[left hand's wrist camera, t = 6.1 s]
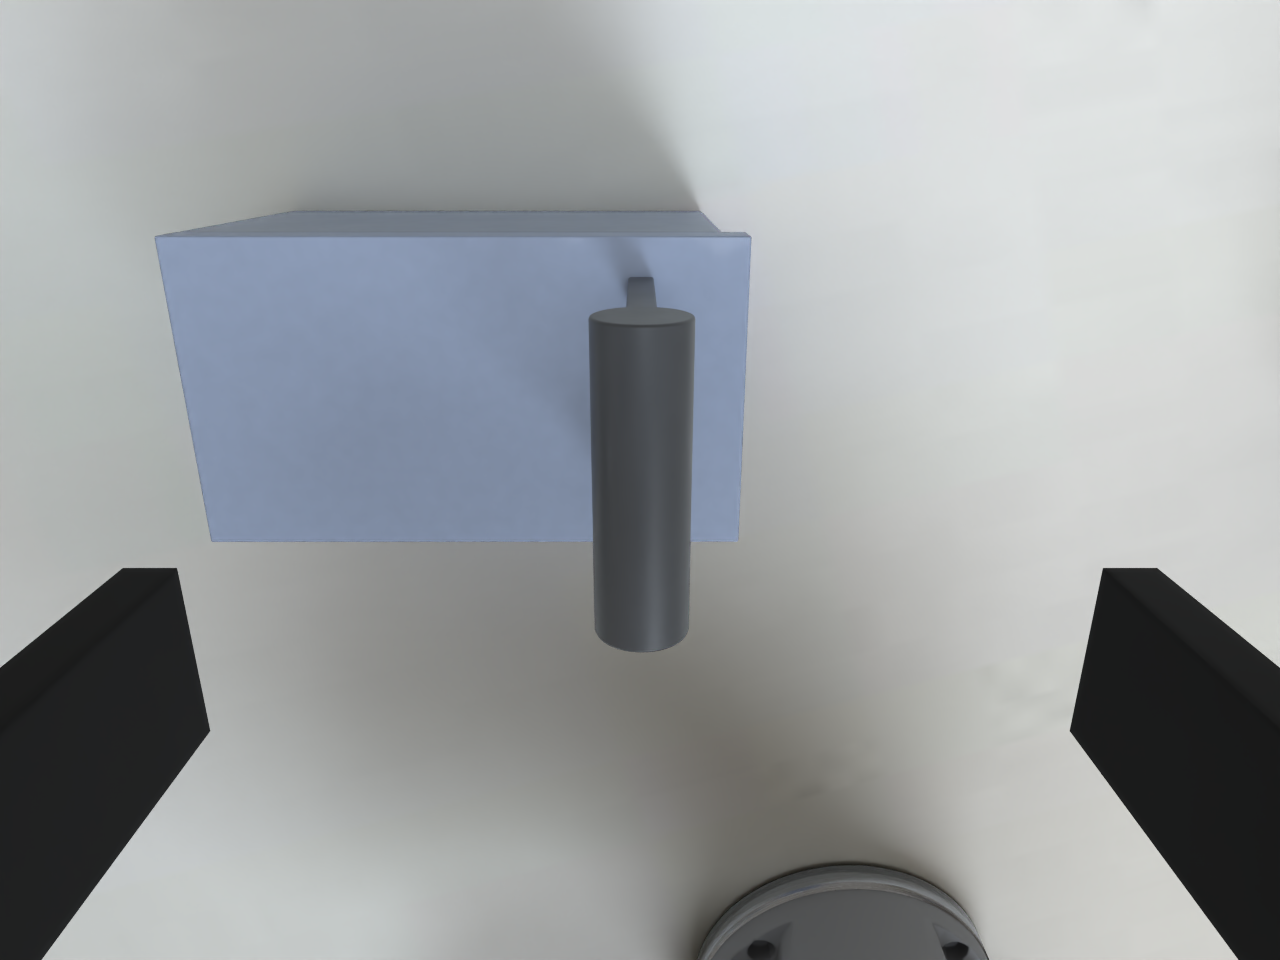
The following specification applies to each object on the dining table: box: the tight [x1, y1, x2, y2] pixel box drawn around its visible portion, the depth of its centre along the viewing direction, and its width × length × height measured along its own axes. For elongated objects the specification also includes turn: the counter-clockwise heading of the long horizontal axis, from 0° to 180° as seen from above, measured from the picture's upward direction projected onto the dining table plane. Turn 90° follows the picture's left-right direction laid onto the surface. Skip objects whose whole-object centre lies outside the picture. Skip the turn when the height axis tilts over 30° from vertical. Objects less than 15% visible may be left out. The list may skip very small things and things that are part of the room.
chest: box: [182, 211, 721, 232], centre depth 31 cm, size 16×9×9 cm, turn 90°
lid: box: [155, 232, 751, 652], centre depth 22 cm, size 16×9×9 cm, turn 90°
